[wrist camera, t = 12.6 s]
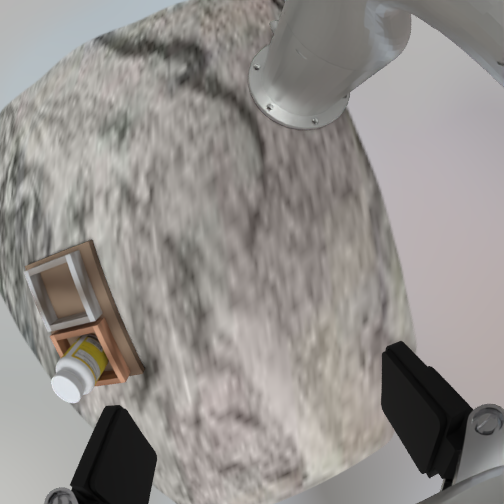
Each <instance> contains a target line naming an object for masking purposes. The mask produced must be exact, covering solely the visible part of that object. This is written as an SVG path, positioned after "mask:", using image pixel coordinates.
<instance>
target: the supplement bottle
mask: <svg viewBox="0 0 504 504" xmlns="http://www.w3.org/2000/svg"><path fill="white" fill-rule="evenodd" d="M108 362H109V360H108V358H107V356H106V354H105V352H104V350H103V348H102V346H101V344H100V342H99V340H98V337H97V336H95V335H92V334H84V335H81V336H80V337H79V338H78V339H77V340H76V341H75V342H74V343H73V344H72V346H71V347H70V348H69V349H68V350H67V351H66V353H65V354H64V355H63V356H62V357H61V358H60V360H59V361H58V363H57V365H56V374H55V375H54V377H53V378H52V380H51V385H52V388H53V390H54V392H55V393H56V394H57V395H58V396H59V397H60V398H61V399H62V400H64V401H66V402H69V403H77V402H78V401H79V400H80V399H81V397H82V396H83V395H85V394H88V393H90V392H91V391H92V389H93V388H94V386H95V384H96V383H97V381H98V379H99V378H100V376H101V374H102V372H103V371H104V369H105V367H106V366H107V364H108Z"/></svg>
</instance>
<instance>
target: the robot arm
mask: <svg viewBox="0 0 504 504" xmlns="http://www.w3.org/2000/svg"><path fill="white" fill-rule="evenodd" d="M411 14H413V15H415V16H417V17H418V18H420V19H421V20H423V21H424V22H426V23H427V24H429V25H430V26H431V27H433V28H435V29H437V30H438V31H440V32H441V33H442V34H444V35H445V36H446V37H448V38H449V39H450V40H451V41H452V42H454V43H455V44H456V45H457V46H459V47H460V48H461V49H462V50H463V51H465V52H466V53H467V54H468V55H469V56H470V57H471V58H472V59H474V60H475V61H476V62H477V63H478V64H479V65H480V66H481V67H482V68H483V69H485V70H486V71H487V72H488V73H489V74H490V75H491V76H492V77H493V78H494V79H495V80H496V81H497V82H498V83H499V84H500V85H502V86H503V87H504V0H286V1H285V4H284V7H283V10H282V13H281V16H280V19H279V20H274V21H271V22H270V23H269V24H270V27H271V30H272V32H273V33H274V36H273V37H272V40H271V43H270V44H269V45H267V46H265V47H264V48H263V49H261V50H260V51H259V52H258V54H257V55H256V56H255V57H254V59H253V61H252V63H251V66H250V70H249V76H248V83H249V89H250V93H251V96H252V98H253V100H254V101H255V103H256V105H257V106H258V107H259V108H260V110H261V111H262V112H263V113H264V114H265V115H267V116H268V117H269V118H270V119H272V120H273V121H275V122H277V123H278V124H281V125H283V126H286V127H288V128H293V129H298V130H311V129H318V128H320V127H323V126H326V125H328V124H330V123H331V122H333V121H334V120H335V119H337V118H338V117H339V116H340V115H341V114H342V113H343V111H344V110H345V108H346V106H347V104H348V101H349V97H350V92H351V91H352V90H354V89H355V88H356V87H358V86H359V85H360V84H362V83H363V82H364V81H366V80H367V79H368V78H370V77H371V76H372V75H374V74H375V73H376V72H378V71H379V70H381V69H382V68H383V67H385V66H386V65H387V64H389V63H390V62H391V61H393V60H394V59H395V58H397V57H398V56H399V55H400V54H401V52H402V51H403V50H404V49H405V47H406V45H407V43H408V40H409V37H410V33H411ZM255 69H258V70H255ZM267 108H271V110H270V111H269V110H267ZM312 121H314V122H315V124H312ZM381 406H382V410H383V412H384V414H385V415H386V417H387V418H388V420H389V422H390V423H391V425H392V427H393V428H394V430H395V431H396V433H397V435H398V436H399V438H400V439H401V441H402V443H403V445H404V446H405V448H406V449H407V451H408V453H409V454H410V456H411V458H412V459H413V461H414V463H415V464H416V466H417V468H418V469H419V471H420V472H421V473H422V474H424V473H426V474H427V475H428V477H429V478H431V477H433V476H434V475H436V474H438V473H439V475H440V476H441V478H442V479H443V483H442V486H441V490H440V492H439V493H437V494H435V495H433V496H431V497H429V498H427V499H425V500H423V501H421V502H419V503H417V504H504V409H502V408H501V407H500V406H497V405H495V404H485V405H481V406H479V407H477V408H476V409H474V410H473V409H472V408H471V407H470V406H469V404H468V403H467V402H466V401H465V400H464V399H463V398H462V397H461V396H460V395H459V394H458V393H457V392H456V391H455V390H454V389H453V388H452V387H451V386H450V385H449V383H448V382H447V381H446V380H445V379H444V378H442V376H441V375H440V374H439V373H438V372H437V371H436V370H435V369H434V368H432V367H430V366H428V367H427V366H426V365H425V364H424V363H423V362H422V361H421V360H420V359H419V358H418V357H417V356H416V355H415V353H414V352H413V351H412V350H411V349H410V348H409V347H408V346H407V345H406V344H405V343H404V342H402V341H399V342H397V343H394V344H392V345H389V346H387V347H386V351H385V352H383V353H382V394H381ZM156 462H157V455H156V452H155V451H154V449H153V448H152V447H151V445H150V444H149V442H148V441H147V440H146V438H145V437H144V435H143V434H142V432H141V431H140V429H139V428H138V426H137V425H136V423H135V422H134V420H133V419H132V417H131V416H130V414H129V413H128V411H127V410H126V409H123V407H122V406H120V405H114V406H106V407H105V408H104V410H103V412H102V414H101V416H100V418H99V420H98V422H97V424H96V427H95V429H94V431H93V433H92V435H91V438H90V440H89V442H88V444H87V446H86V449H85V451H84V453H83V455H82V458H81V460H80V462H79V465H78V467H77V469H76V472H75V474H74V477H73V479H72V481H71V484H70V485H71V486H72V490H69V489H67V488H56V489H54V490H52V491H51V492H50V493H49V494H48V495H47V497H46V499H45V503H44V504H148V503H149V497H150V492H151V487H152V482H153V477H154V472H155V467H156Z"/></svg>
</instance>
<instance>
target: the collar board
mask: <svg viewBox="0 0 504 504" xmlns="http://www.w3.org/2000/svg"><path fill="white" fill-rule="evenodd" d="M25 268H26V271H25V272H24V274H25V277H26V280H27V282H28V285H29V288H30V291H31V293H32V296H33V298H34V301H35V303H36V306H37V308H38V311H39V313H40V315H41V318H42V320H43V322H44V324H45V327H46V329H47V331H48V332H51V333H52V335H51V336H50V337H51V340H52V342H53V344H54V346H55V348H56V350H57V352H58V354H59V356H60V357H62V356H63V355H64V354H65V353H66V351H67V350H68V349H69V348H70V347H71V346H72V344H73V343H74V342H75V341H76V340H77V339H78V338H79V337H80V336H81V335H84V334H92V335H95V336H97V337H98V340H99V342H100V344H101V346H102V348H103V350H104V352H105V354H106V356H107V358H108V360H109V362H108V364H107V366H106V367H105V369H104V371H103V372H102V374H101V376H100V378H99V379H98V381H97V383H96V384H95V386H101V385H109V384H116V383H123V382H126V381H127V379H128V376H133V375H138V374H143V372H144V370H145V369H144V367H143V365H142V363H141V361H140V359H139V357H138V354H137V352H136V350H135V348H134V346H133V344H132V342H131V340H130V337H129V335H128V333H127V331H126V328H125V326H124V324H123V322H122V319H121V317H120V314H119V312H118V310H117V307H116V305H115V302H114V300H113V297H112V295H111V292H110V289H109V287H108V284H107V282H106V279H105V276H104V273H103V270H102V268H101V265H100V262H99V259H98V256H97V253H96V250H95V247H94V244H93V241H92V240H90V241H88V242H85V243H82V244H80V245H77V246H74V247H72V248H69V249H67V250H64V251H61V252H59V253H56V254H54V255H51V256H49V257H46V258H44V259H42V260H39V261H37V262H34V263H32V264H29V265H27V266H25Z"/></svg>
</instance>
